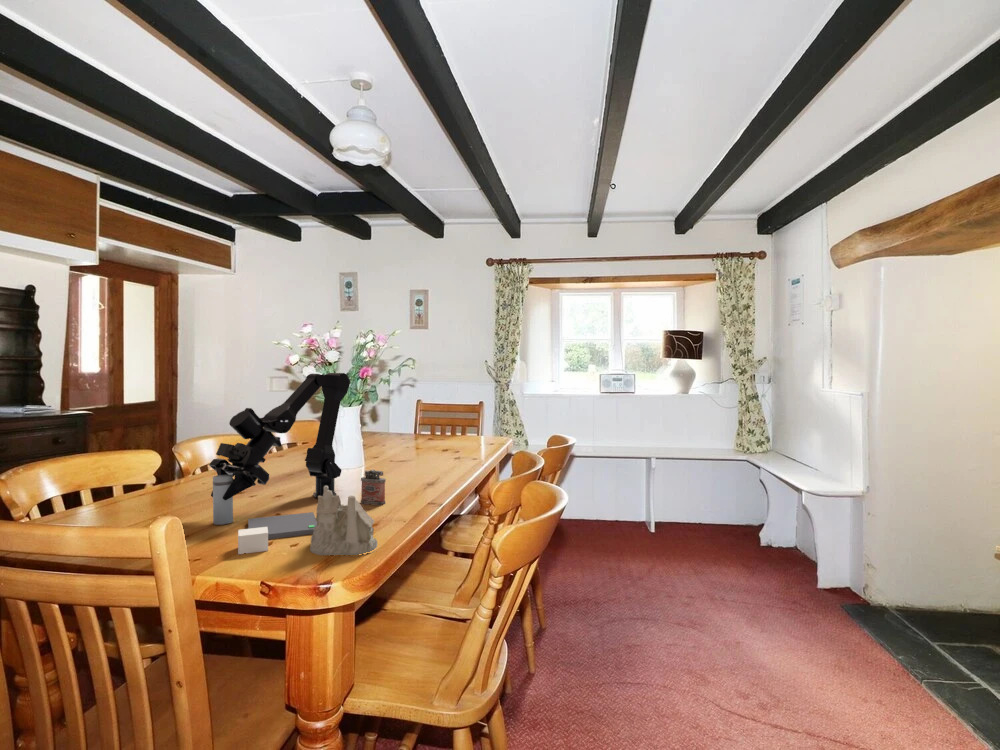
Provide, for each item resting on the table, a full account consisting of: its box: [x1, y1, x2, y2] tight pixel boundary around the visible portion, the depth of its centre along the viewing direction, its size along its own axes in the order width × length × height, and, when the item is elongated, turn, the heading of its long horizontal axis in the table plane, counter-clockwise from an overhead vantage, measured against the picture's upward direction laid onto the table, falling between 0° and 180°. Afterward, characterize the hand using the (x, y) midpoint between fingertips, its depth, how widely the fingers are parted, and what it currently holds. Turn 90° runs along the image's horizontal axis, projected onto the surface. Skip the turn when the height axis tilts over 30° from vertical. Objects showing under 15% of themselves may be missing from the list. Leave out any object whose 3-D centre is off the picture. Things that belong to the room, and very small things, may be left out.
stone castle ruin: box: [309, 486, 379, 557], centre depth 124 cm, size 16×16×15 cm
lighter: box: [360, 469, 387, 506], centre depth 161 cm, size 8×3×10 cm, turn 70°
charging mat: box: [237, 511, 317, 555], centre depth 132 cm, size 24×18×4 cm
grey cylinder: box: [212, 475, 234, 526], centre depth 140 cm, size 5×5×12 cm
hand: (218, 498), depth 139 cm, fingers closed on grey cylinder, 5 cm apart
